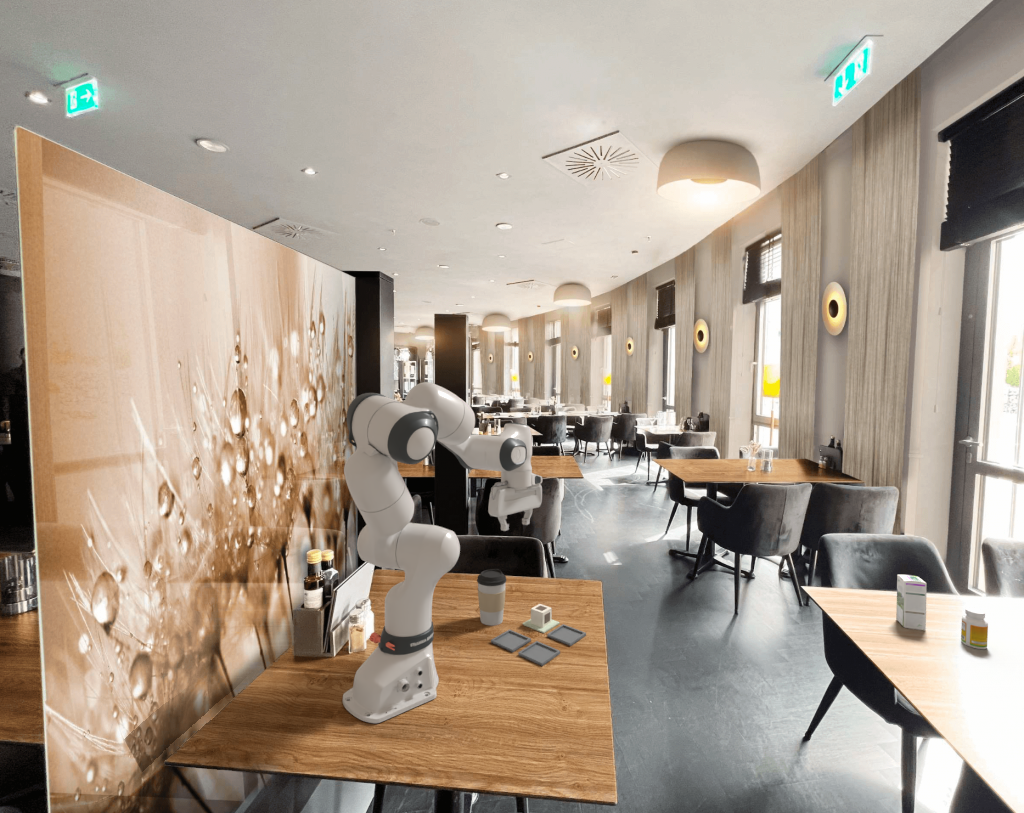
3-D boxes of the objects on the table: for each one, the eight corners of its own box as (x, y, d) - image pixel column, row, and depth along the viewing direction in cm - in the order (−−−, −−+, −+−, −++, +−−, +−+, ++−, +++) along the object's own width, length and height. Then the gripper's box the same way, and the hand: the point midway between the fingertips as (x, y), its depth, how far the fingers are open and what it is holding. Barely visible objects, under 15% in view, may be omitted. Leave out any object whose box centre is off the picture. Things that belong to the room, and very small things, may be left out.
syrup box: (926, 631, 147) (928, 582, 147) (902, 627, 149) (904, 580, 149) (917, 622, 153) (919, 575, 152) (894, 619, 155) (896, 573, 154)
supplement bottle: (991, 648, 138) (993, 613, 137) (978, 651, 136) (980, 616, 136) (968, 638, 143) (970, 605, 143) (956, 641, 141) (957, 607, 141)
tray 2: (542, 666, 128) (542, 663, 128) (518, 655, 133) (518, 652, 133) (560, 653, 134) (560, 650, 134) (536, 643, 139) (536, 640, 139)
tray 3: (570, 646, 138) (570, 643, 138) (547, 636, 143) (547, 634, 143) (586, 635, 144) (586, 632, 144) (563, 626, 149) (563, 624, 149)
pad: (543, 633, 145) (543, 631, 145) (522, 624, 150) (522, 623, 150) (559, 623, 151) (559, 622, 151) (538, 615, 156) (538, 614, 156)
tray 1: (512, 652, 134) (512, 649, 134) (490, 642, 140) (490, 639, 139) (530, 641, 140) (531, 638, 140) (509, 632, 146) (509, 629, 146)
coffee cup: (493, 630, 147) (493, 580, 146) (470, 621, 152) (470, 573, 151) (512, 619, 154) (512, 571, 153) (489, 611, 159) (489, 564, 159)
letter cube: (542, 628, 147) (542, 612, 147) (530, 623, 150) (530, 608, 150) (551, 622, 151) (551, 607, 151) (539, 618, 154) (539, 603, 153)
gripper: (500, 484, 133) (499, 536, 133) (546, 476, 149) (545, 523, 149) (483, 482, 137) (482, 532, 137) (529, 474, 153) (528, 519, 153)
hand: (515, 527), depth 143 cm, fingers open, 8 cm apart
